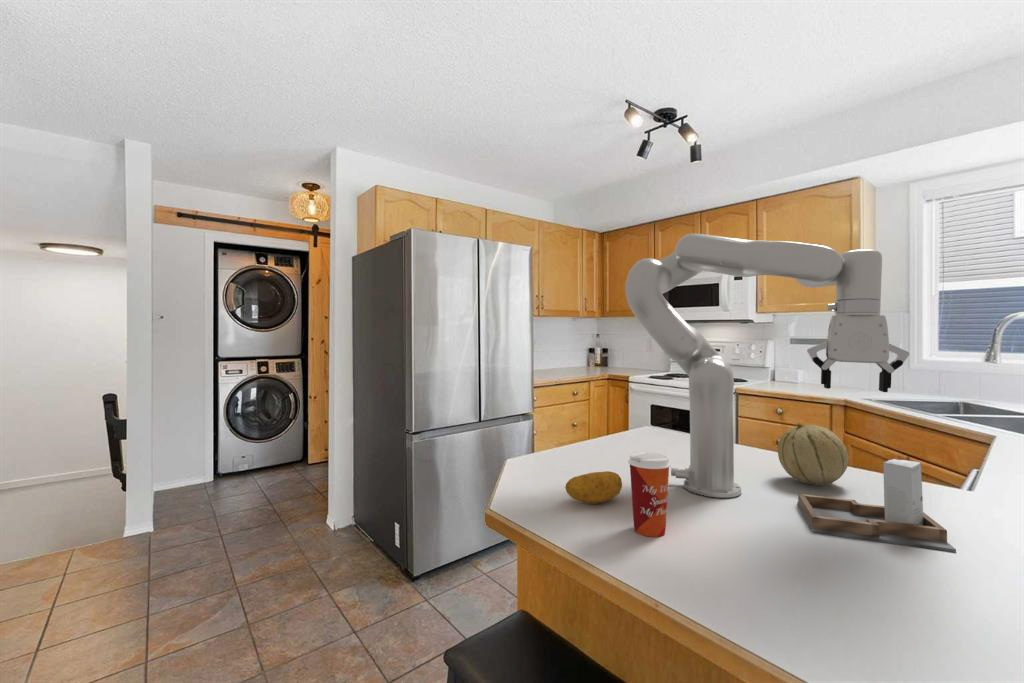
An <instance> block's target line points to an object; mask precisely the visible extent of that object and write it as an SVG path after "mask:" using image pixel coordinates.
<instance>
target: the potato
mask: <svg viewBox="0 0 1024 683" xmlns="http://www.w3.org/2000/svg"><path fill="white" fill-rule="evenodd" d="M564 488H565V490H566V493H567V495H568V496H569V497H570V498H572V499H573V500H575V501H578V502H579V503H583V504H592V505H597V504H598V503H599V504H603V503H606V502H608V501H610V500H612V499H614V498H615V497H617V496H618V495H619V494H620V493H621V490H622V488H623V482H622V478H621V476H620V475H619V474H618V473H616V472H613V471H597V472H596V471H595V472H588V473H586V474H582V475H577V476H573V477H572V478H570V479H568V481H567V482H566V483H565V487H564ZM602 502H603V503H602Z"/></svg>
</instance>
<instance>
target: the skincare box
mask: <svg viewBox="0 0 1024 683" xmlns="http://www.w3.org/2000/svg"><path fill="white" fill-rule="evenodd" d="M882 467H883V469H882V470H883V473H882V474H883V498H884V499H883V500H884V502H883V503H884V504H883V506H884V508H885V521H890V522H898V523H906V524H914V525H922V526H924V524H923V512H924V504H923V502H924V501H923V500H924V498H923V481H922V480H923V479H922V478H923V477H922V462H919V461H915V460H914V461H913V460H906V459H900V458H899V459H898V458H893V459H889V460H887V461H884V462H883V464H882Z"/></svg>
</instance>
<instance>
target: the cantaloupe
mask: <svg viewBox="0 0 1024 683" xmlns="http://www.w3.org/2000/svg"><path fill="white" fill-rule="evenodd" d="M796 425H797V426H794V427H792V428H790V429H788V430H786V431H785V432H784V433H783V434H782V436H781V437H780V439H779V440H778V443H777V444H778V445H777V456H778V460H779V463H780V464H781V467H782V468H783V470H784V471H785V472H786V473H787V474H788V475H789V476H790V477H791V478H793V479H794V480H796V481H798V482H801V483H804V484H807V485H808V484H809V485H819V486H820V485H821V486H822V485H829V484H833V483H835V482H836V481H838V480H839V479H840V478H842V476H843V475H844V474H845V472H846V471H847V469H848V465H849V459H850V458H849V454H848V450H847V447H846V445H845V444H844V442H843V441H842V439H840V437H839V436H838V435H837V434H836V433H834V432H833V431H832V430H830V429H828V428H826V427H825V426H821V425H817V424H804V425H803V424H801V423H800V422H799V423H797V424H796Z"/></svg>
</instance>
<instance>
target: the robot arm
mask: <svg viewBox="0 0 1024 683" xmlns="http://www.w3.org/2000/svg"><path fill="white" fill-rule="evenodd" d="M702 272H710V273H715V274H723V275H727V276H728V275H729V276H733V277H740V278H741V277H743V278H747V277H755V276H756V277H757V276H775V277H784V278H790V279H795V281H796V282H797V283H798V284H799V285H800V286H803V287H805V288H810V289H811V288H812V289H816V288H823V287H831V286H836V287H835V288H836V290H835V301H834V302H833V303H828V304H827V307H826V308H827V311H833V312H834V314H835V315H831V317H830V321H829V325H828V332H827V336H826V337H827V339H826V341H824V342H821V343H820V344H817V345H814V346H812V347H809V348H807V349H806V351H807V354H808V356H809V357H810V358H811V361H812V362H813V363H814V364H815V365H816V366H817V367H818V368H819V369H820V371H821V372H820V384H821V385H823V388H825V389H827V390H828V389H831V387H832V386H831V385H832V370H830V367H831V366H833V365H834V364H835V363H836V362H839V363H862V364H863V363H864V364H876V365H877V366H878V367H879V368H880V369H881V371H880V372H879V373H878V374H879V376H878V379H879V380H878V382H879V383H878V391H880V392H882V393H888V391H889V389H891V387H892V373H894V372H895V371H896V370H897V369H899V368H900V367H901V366H903V364H904V363H905V361H906V360H907V359H908V357H909V356H910V352H909V351H907V350H905V349H903V348H900V347H898V346H896V345H893V344H892V343H890V339H889V328H888V322H887V318H886V315H883V314H881V305H882V304H881V302H882V301H881V300H882V299H881V298H882V276H883V275H882V274H883V256H882V253H881V252H880V251H879V250H876V249H854V250H848V251H845V252H842V253H839V252H838V251H837V250H835V249H834V248H831V247H828V246H826V245H819V244H811V243H805V242H799V241H784V240H760V239H757V240H752V239H751V240H750V239H745V238H744V239H742V238H734V237H726V236H721V235H720V236H719V235H713V234H705V233H696V232H695V233H687V234H685V235H683V236H682V237H680V238H679V240H678V241H677V243H676V245H675V248H674V251H673V252H672V253H670V254H668V255H667V256H666V257H663V258H661V259H660V260H658V259H656V258H653V257H652V258H651V257H646V258H642V259H640V260H638V261H637V262H635V263H634V264H633V266H631V268H630V270H629V272H628V275H627V278H626V282H625V298H626V301H627V304H628V307H629V309H630V310H631V312H632V313H633V315H634V317H635V318H636V319H637V321H638V322H639V323H640V324H641V325H642V327H643V328H644V329H645V331H646V332H647V333H648V334H649V335H650V337H652V339H653V340H654V341H655V342H656V344H657V345H658V346H659V347H660V349H661V350H662V351H663V353H664V354H665V355H666V356H667V358H669V359H670V360H672V361H675V362H676V363H677V364H678V366H679V368H681V369H682V370H683V372H684V373H685V374H686V375H687V377H688V395H689V433H690V434H689V439H690V440H689V452H690V453H689V455H690V456H689V457H690V458H689V459H690V465H688V466H689V467H687V468H686V467H685V468H684V469H683V468H675V467H671V468H670V471H671V472H670V476H672V477H675V479H684V481H683V488H684V489H685V490H687V489H688V490H687V491H688V492H690V491H691V493H693V492H694V493H693V494H696V493H697V494H696V495H699V494H700V495H699V496H703V495H704V496H705V497H709V498H718V499H721V498H723V499H724V498H726V499H727V498H736V497H738V496H740V495H741V494H742V487H741V486H740V485H739V484H738V483H736V482H735V472H734V471H735V470H734V469H735V468H734V467H735V461H734V460H735V459H734V458H735V456H734V455H735V452H734V450H735V449H734V448H735V446H734V445H735V444H734V442H735V441H734V429H735V428H734V389H735V387H734V385H735V383H734V379H735V378H734V373H733V370H732V367H731V366H730V364H729V363H728V362H727V361H726V360H725V359H724V358H723V356H721V355H720V353H719V352H718V351H717V350H716V349H715V347H714V346H712V345H711V344H710V342H709V341H708V340H707V339H706V338H705V336H703V335H702V334H701V332H700V331H699V330H698V329H697V328H695V327H694V326H692V325H690V324H689V323H688V322H687V321H686V320H685V319H684V318H683V317H682V316H681V315H680V314H679V313H678V312H677V311H676V310H675V308H674V307H673V305H672V304H670V303H669V301H668V300H667V299H666V298H665V296H664V295H663V294H665V293H667V292H669V291H671V290H672V289H674V288H676V287H678V286H680V285H681V284H683V283H685V282H686V281H689V280H691V279H692V278H694V277H695V276H697V275H699V274H700V273H702ZM822 350H825V357H826V359H825V360H823V359H821V358H820V357H819V356H818V352H820V351H822ZM890 353H893V354H895V355H896V358H895V359H894V360H892V362H890V363H889V362H888V360H889V358H890Z"/></svg>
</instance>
